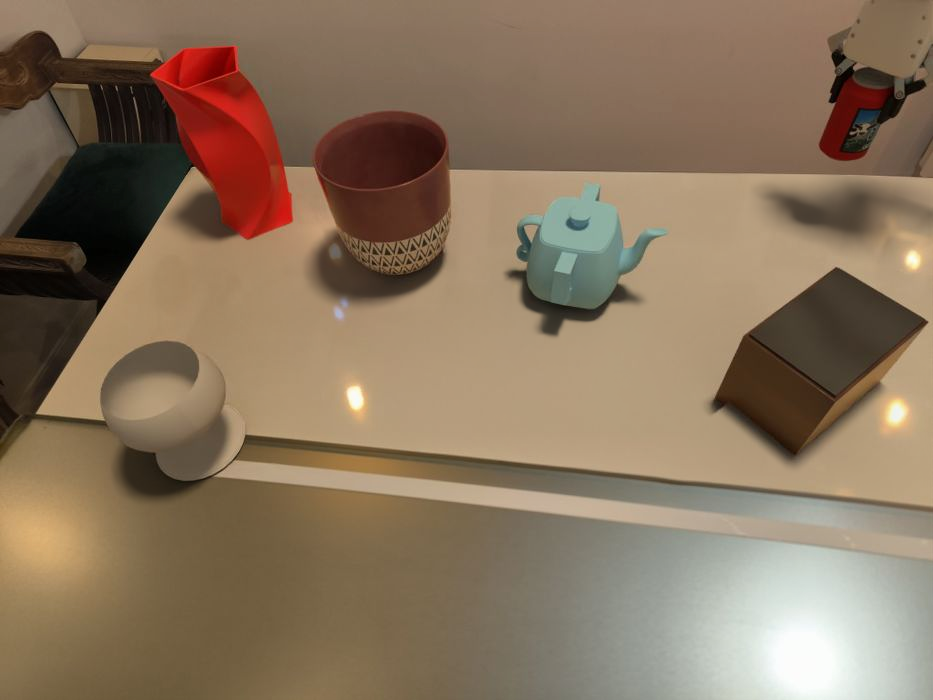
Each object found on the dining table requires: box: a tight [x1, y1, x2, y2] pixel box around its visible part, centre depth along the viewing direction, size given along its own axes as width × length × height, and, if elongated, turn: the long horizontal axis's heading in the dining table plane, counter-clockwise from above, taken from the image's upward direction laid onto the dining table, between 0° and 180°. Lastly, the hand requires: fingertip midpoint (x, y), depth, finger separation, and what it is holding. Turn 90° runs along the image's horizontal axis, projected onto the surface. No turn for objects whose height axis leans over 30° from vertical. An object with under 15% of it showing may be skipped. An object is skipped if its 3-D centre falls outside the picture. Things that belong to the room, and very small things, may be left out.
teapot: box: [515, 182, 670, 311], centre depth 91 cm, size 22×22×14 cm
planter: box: [312, 110, 452, 276], centre depth 95 cm, size 20×20×21 cm
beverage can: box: [818, 66, 894, 162], centre depth 89 cm, size 7×7×12 cm
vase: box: [149, 45, 294, 240], centre depth 102 cm, size 15×14×28 cm
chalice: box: [99, 340, 247, 482], centre depth 77 cm, size 14×14×15 cm
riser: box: [714, 266, 930, 457], centre depth 77 cm, size 18×12×14 cm, turn 126°
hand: (860, 108), depth 88 cm, fingers closed on beverage can, 6 cm apart
